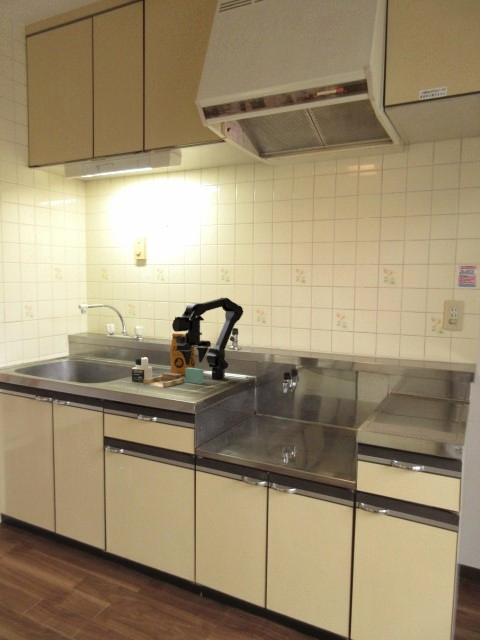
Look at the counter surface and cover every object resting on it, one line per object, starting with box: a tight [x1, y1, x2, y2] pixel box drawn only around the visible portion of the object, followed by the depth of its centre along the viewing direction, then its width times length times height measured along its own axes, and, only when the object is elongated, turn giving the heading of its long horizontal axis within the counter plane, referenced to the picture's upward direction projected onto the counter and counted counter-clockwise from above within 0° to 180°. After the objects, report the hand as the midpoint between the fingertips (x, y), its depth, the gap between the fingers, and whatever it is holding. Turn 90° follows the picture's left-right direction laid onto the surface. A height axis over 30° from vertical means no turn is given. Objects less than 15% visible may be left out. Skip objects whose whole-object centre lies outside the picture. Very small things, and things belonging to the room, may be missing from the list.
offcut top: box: [161, 372, 182, 379], centre depth 220 cm, size 4×8×2 cm, turn 60°
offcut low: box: [161, 377, 180, 382], centre depth 220 cm, size 4×9×2 cm, turn 56°
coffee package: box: [169, 332, 196, 377], centre depth 239 cm, size 10×12×22 cm
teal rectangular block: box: [185, 367, 205, 385], centre depth 218 cm, size 2×9×7 cm, turn 56°
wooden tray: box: [143, 375, 186, 388], centre depth 217 cm, size 14×13×3 cm
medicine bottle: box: [131, 356, 153, 383], centre depth 223 cm, size 7×7×12 cm
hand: (194, 363), depth 217 cm, fingers open, 9 cm apart
